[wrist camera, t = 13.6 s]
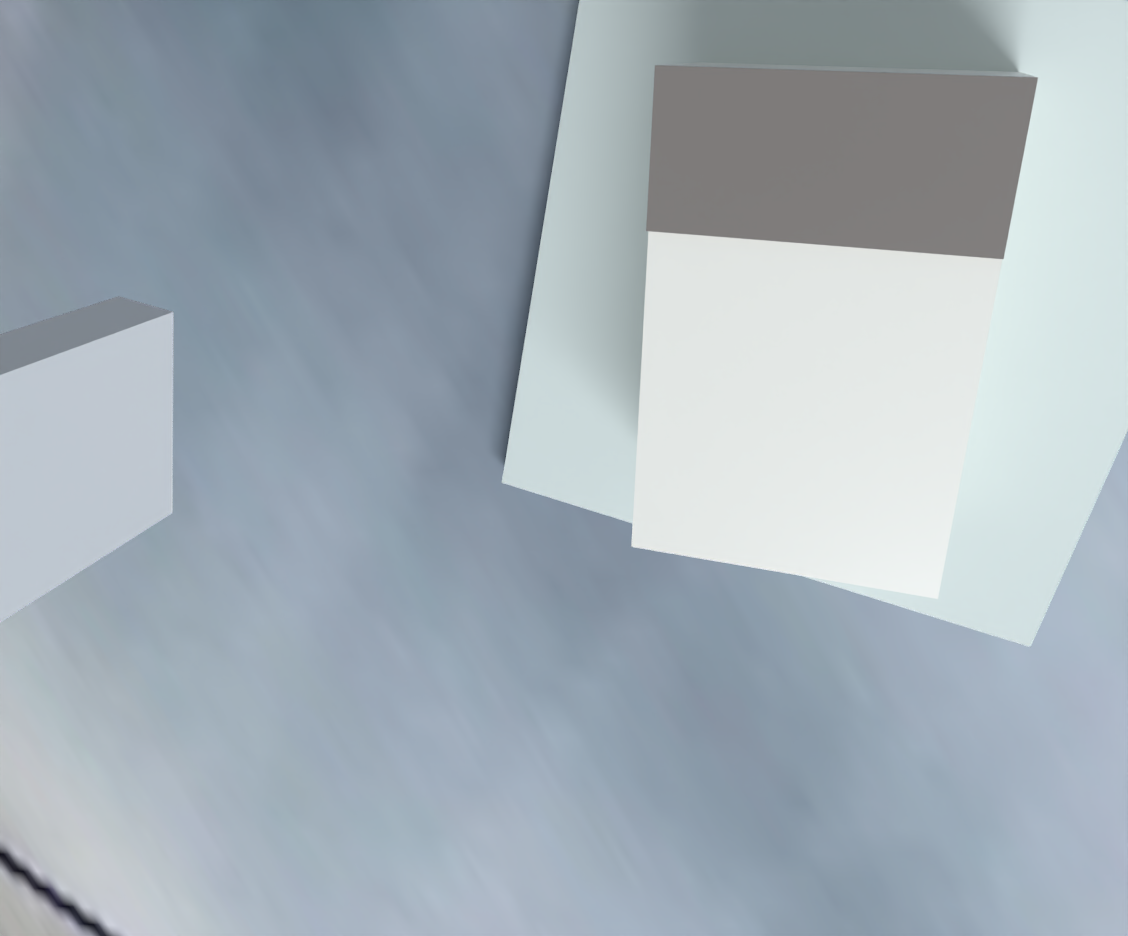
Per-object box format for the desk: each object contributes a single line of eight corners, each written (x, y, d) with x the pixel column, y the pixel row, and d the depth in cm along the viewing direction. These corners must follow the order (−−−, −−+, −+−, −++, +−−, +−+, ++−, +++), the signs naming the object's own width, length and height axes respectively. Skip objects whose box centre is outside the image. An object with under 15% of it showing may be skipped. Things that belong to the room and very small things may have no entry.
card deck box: (937, 519, 24) (937, 603, 21) (671, 480, 26) (629, 550, 23) (1018, 72, 20) (1038, 77, 17) (700, 62, 22) (654, 65, 19)
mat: (509, 474, 28) (501, 482, 28) (602, -89, 22) (594, -92, 22) (1028, 634, 25) (1030, 646, 25) (1296, 32, 19) (1306, 31, 19)
